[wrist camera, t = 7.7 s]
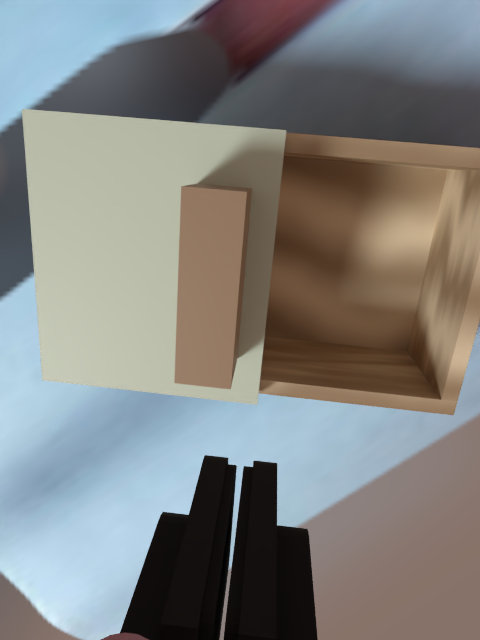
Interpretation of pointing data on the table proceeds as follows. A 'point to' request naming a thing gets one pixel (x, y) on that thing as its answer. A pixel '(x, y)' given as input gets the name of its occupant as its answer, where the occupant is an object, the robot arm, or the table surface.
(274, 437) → the table surface
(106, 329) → the lid
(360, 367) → the wooden box
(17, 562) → the table surface
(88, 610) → the table surface
